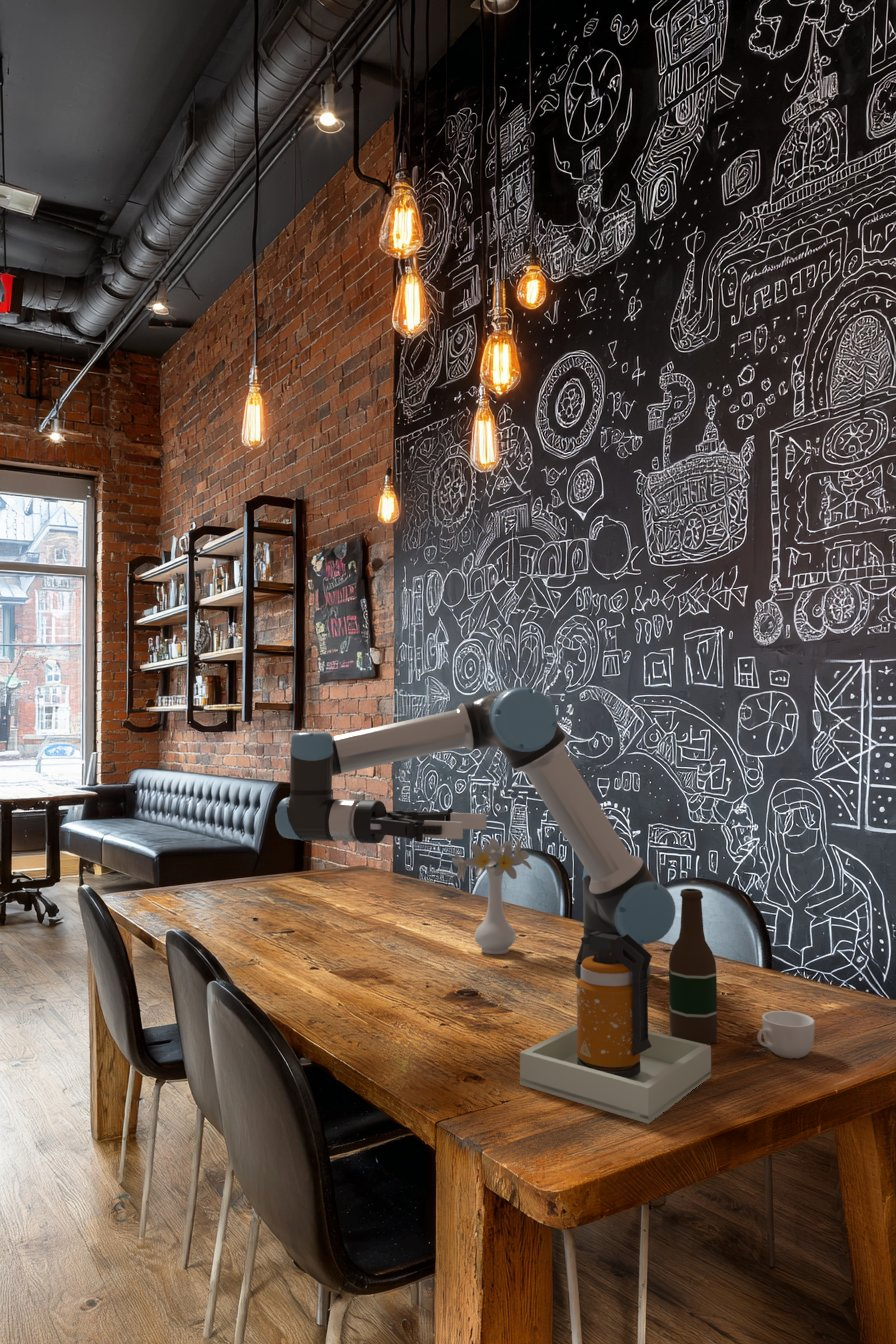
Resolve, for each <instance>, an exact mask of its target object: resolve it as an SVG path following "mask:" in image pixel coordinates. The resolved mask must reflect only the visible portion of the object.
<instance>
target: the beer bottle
mask: <svg viewBox="0 0 896 1344" xmlns="http://www.w3.org/2000/svg"><path fill="white" fill-rule="evenodd" d="M680 897H681V907H680V908H681V913H680V914H681V915H680V927H679V929H680V930H679V934H678V935H679V936H678V938H677V940H676V942H674V944H673V946H672V949H671V950H670V954H669V957H668V959H669V960H668V961H669V962H668V995H669V996H668V1001H669V1002H668V1006H669V1008H668V1009H669V1010H668V1011H669V1013H668V1014H669V1017H668V1018H669V1019H668V1020H669V1033H670V1036H672V1037H676V1038H681V1039H685V1040H689V1041H693V1042H698V1043H702V1044H708V1045H710V1044H713V1043H715V1041H717V1037H718V997H717V996H718V994H717V993H718V990H717V989H718V985H717V982H718V981H717V980H718V979H717V977H718V976H717V964H716V959H715V956H714V953H713V952H712V949H711V948H710V946H709V945H708V942H707V941H706V938H705V937H706V936H705V932H704V919H703V905H702V904H703V903H702V899H703V898H704V895H703V892H702V891H701V889H697V888H684V889H681V890H680ZM712 1042H713V1043H712ZM709 1043H710V1044H709Z"/></svg>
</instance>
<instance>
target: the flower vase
mask: <svg viewBox="0 0 896 1344" xmlns="http://www.w3.org/2000/svg"><path fill="white" fill-rule="evenodd" d="M487 843H488V841H487V840H486V841H485V842H484V845H483V848H481V847H480V846H479V844H476V843H474V844H472V845H471V852H472V853H473V856H474V857H469V858H467V859H466V860H464V859H463V858H462V857H461V856H460V855H459V854H458V853H457V851H455V850H454V849H452V852H453V853H452V854H453V855H454V856H455V857H452V858H451V862H452V864H453V865H454V866H455V867H457V868H458V869H457V873H456V875H457V876H456V877H457V880H458V881H460V880H461V879H462V882H463V883H464V882H465V875H466V870H467V867H469V870H472V869H473V868H475V869H474V873H475V876H476V877H479V876H481V874H482V873H483V871H484V869H485V871H486V874H487V881H488V897H487V898H488V900H487V911H486V914H485V916H484V919H483V921H482V922H480V924H479V925H478V926H477V928H476V930H475V932H474V941H475V942H476V944H477V945H478V946H480V947H481V951H482V953H484V954H486V955H493V956H494V955H496V956H497V955H498V956H499V955H504V954H507V953H509V952H510V947H512V945H514V943H515V942H516V940H517V934H516V932H515V929H514V928H513V927H512V925H511V924H510V923H509V922H508V920H507V919H506V916H505V913H504V909H503V907H504V906H503V891H502V890H503V888H502V887H503V877H504V876H503V875H504V872H506V874H507V875H508V877H509V878H510V879H513V880H515V879H517V875H518V874H517V870H516V869H515V867H516V866H520V865H524V866H525V867H527V868H528V869H530V870H533V868H532V866H531V865H530V863H529V862H528V861H527V859H529V858H530V854H529V853H528V851H526V850H522V844H521V841H520V839H519V838H517V839H516V843H514V849H513V846H512V844H513V843H512V841H511V840H506V841H504V842H503V843H502V844H501V846H500V843H499V841H497V839H496V838H493V837H492V838H490V839H489V844H487Z"/></svg>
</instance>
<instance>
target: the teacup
mask: <svg viewBox="0 0 896 1344" xmlns="http://www.w3.org/2000/svg"><path fill="white" fill-rule="evenodd" d="M761 1022H762V1028H761V1029H759V1030H758V1032H757V1037H756V1038H757V1042H758V1043H759V1044H760V1045H761V1046H763V1047H765V1048H768V1049H769V1050H770V1051H771V1052H773V1053H774V1054H775V1055H776V1056H779V1057H780V1058H785V1059H792V1058H796V1059H801V1057H802V1058H803V1057H805V1056H807V1055H808V1054H809V1053H811V1051H812V1049H813V1047H814V1042H815V1040H814V1039H815V1028H816V1027H815V1026H816V1025H815V1024H816V1023H815V1019H814V1018H813V1017H811V1016H810V1015H807V1014H804V1013H801V1012H796V1011H790V1010H771V1011H767V1012H765V1013H763V1014H762V1015H761ZM762 1034H763V1038H764V1042H763V1041H762Z"/></svg>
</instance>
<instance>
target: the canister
mask: <svg viewBox="0 0 896 1344" xmlns="http://www.w3.org/2000/svg"><path fill="white" fill-rule="evenodd" d="M580 940H581V943H583V944H585V945H586V944H589V950H592V951H597V953H598V955H597V953H595V954H594V956H590V957H587V958H585V959H584V960H583V962H582V964H581V978H578V979H577V981H576V1016H577V1017H576V1025H577V1055H578V1058H577V1065H580V1066H584V1067H587V1068H591V1069H595V1070H598V1071H602V1072H606V1073H609V1074H613V1075H617V1076H620V1077H624V1078H627V1079H628V1078H632V1077H634V1076H636V1075H638V1074H639V1073H640V1053H641V1052H643V1051H645V1050H647V1049H648V1048H650V1047H652V1046H651V1043H650V1041H649V1039H648V1031H649V1015H648V1014H649V1005H648V1004H649V1003H648V1002H649V1001H648V999H649V998H648V997H649V995H648V994H649V980H648V978H647V970H648V967H649V964H651V961H652V957H653V955H652V954H651V953H650V952H649V951H647V950H646V949H644V948H645V947H644V948H643V947H642V946H641V945H639V944H638V943H637V942H636V941H635V940H634V939H633V938H632V937H630V936H629V935H628V934H626V935H625V936H623V937H622V936H616V935H610V934H604V933H602V932H599V931H595V932H592V933H589V934H588V936H585V937H583V936H582V937H581V938H580ZM630 945H631V946H632V947H633V948H634V949H635V950H636V951H635V950H634V949H633V948H632V947H631V946H630ZM623 955H624V956H623ZM641 955H642V956H643V957H644V958H643V957H642V956H641ZM647 980H648V981H647Z"/></svg>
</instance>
